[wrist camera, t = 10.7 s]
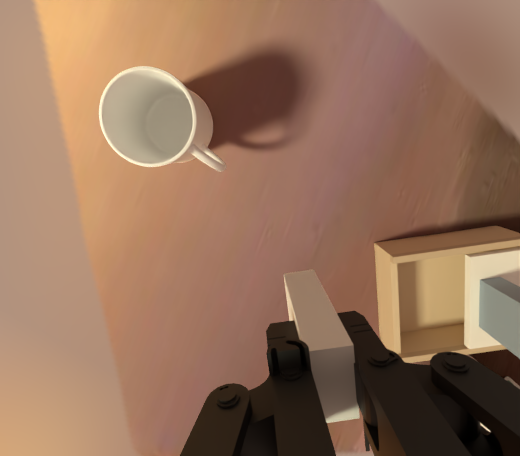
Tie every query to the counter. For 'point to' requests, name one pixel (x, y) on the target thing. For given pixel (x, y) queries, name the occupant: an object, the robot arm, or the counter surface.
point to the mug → (156, 119)
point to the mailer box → (430, 290)
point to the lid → (492, 299)
